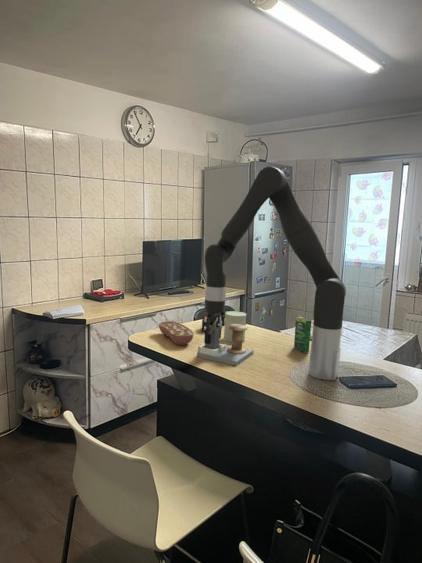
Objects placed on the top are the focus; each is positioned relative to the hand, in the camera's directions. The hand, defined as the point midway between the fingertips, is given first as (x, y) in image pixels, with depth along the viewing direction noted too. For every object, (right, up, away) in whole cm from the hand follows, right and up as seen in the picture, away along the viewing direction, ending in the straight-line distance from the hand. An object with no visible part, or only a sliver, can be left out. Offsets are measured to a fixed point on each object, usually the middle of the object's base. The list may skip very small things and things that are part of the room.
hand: (212, 340), depth 154 cm
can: (+9, -3, +23) cm, 25 cm away
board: (+5, -6, +2) cm, 8 cm away
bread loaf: (-15, -2, +18) cm, 24 cm away
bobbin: (+9, -4, +3) cm, 10 cm away
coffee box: (+36, -6, +14) cm, 39 cm away
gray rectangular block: (0, -4, +1) cm, 4 cm away
